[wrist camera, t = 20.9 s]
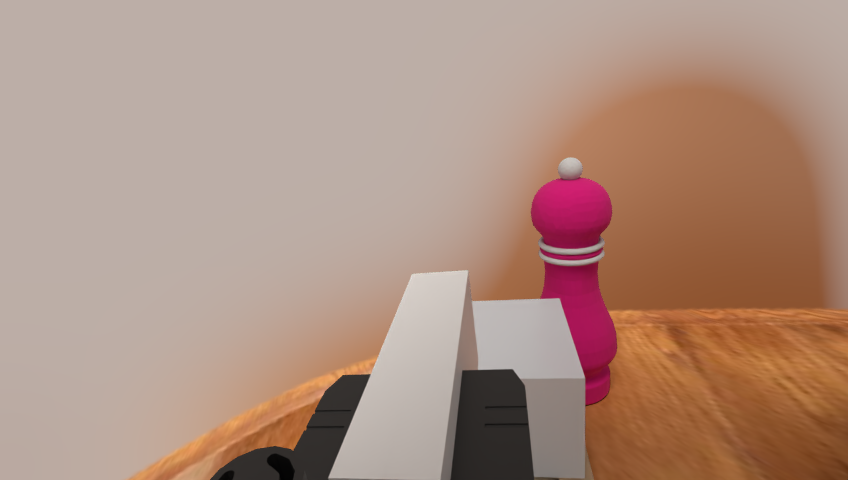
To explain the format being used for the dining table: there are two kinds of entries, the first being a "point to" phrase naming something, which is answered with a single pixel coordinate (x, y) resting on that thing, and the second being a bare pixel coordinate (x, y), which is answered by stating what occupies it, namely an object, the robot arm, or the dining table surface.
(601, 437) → the dining table surface
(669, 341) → the dining table surface
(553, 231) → the pepper mill
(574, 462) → the light grey cube
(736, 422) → the dining table surface
